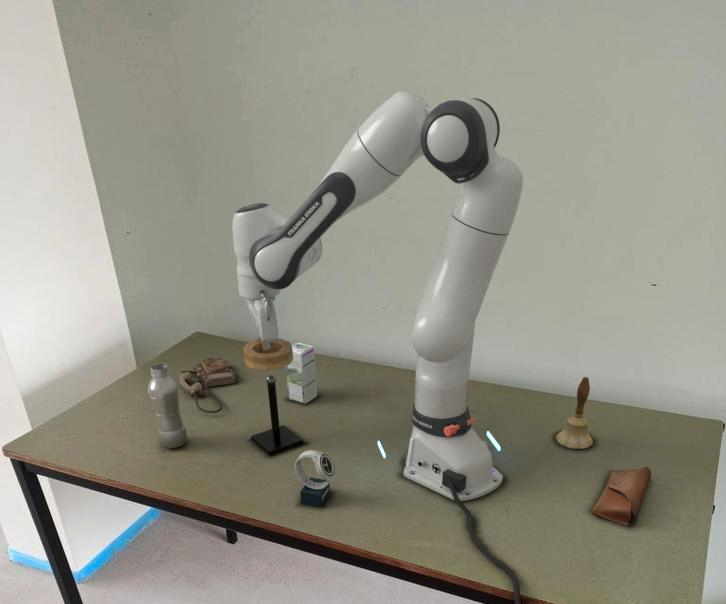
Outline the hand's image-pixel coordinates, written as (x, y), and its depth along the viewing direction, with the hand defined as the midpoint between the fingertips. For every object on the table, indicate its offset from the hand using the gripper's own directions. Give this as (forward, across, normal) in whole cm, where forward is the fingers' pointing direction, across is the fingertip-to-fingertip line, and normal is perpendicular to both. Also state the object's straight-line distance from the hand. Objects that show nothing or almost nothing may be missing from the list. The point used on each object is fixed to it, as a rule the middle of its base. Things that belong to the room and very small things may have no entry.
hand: (265, 345), depth 150 cm
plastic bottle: (+23, +2, +24) cm, 33 cm away
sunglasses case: (+23, -48, -64) cm, 83 cm away
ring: (+2, -4, 0) cm, 5 cm away
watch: (+23, -30, -4) cm, 37 cm away
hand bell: (+23, -24, -67) cm, 75 cm away
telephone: (+23, +30, +13) cm, 40 cm away
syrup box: (+23, +17, -11) cm, 30 cm away
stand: (+23, -4, 0) cm, 23 cm away
